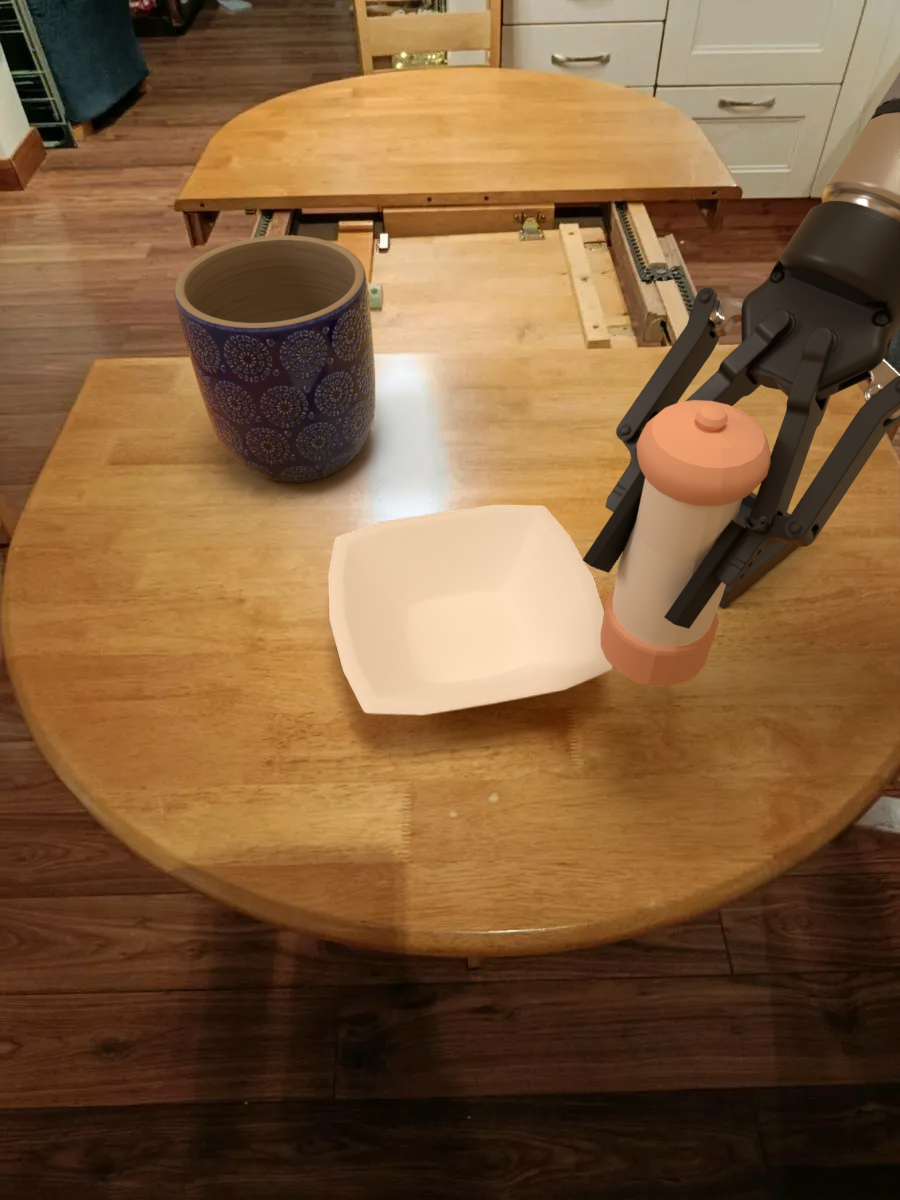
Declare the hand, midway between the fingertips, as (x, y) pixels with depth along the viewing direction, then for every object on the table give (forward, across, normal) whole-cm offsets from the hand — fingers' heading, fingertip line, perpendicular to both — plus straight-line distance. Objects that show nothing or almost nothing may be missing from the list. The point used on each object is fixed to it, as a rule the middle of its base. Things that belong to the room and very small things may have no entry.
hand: (635, 593), depth 50 cm
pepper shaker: (+3, 0, -8) cm, 9 cm away
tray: (-5, +11, -37) cm, 38 cm away
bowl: (+14, +18, -18) cm, 29 cm away
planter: (+11, +51, -21) cm, 56 cm away
